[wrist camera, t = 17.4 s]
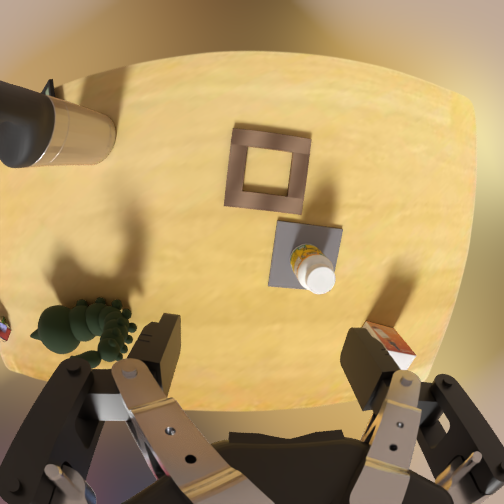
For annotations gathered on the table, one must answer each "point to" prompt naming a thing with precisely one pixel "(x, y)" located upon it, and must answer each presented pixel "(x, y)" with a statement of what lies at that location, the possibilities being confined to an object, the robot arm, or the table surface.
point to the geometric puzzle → (4, 331)
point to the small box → (392, 343)
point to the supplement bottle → (312, 268)
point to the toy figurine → (87, 329)
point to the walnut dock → (261, 200)
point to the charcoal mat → (293, 237)
